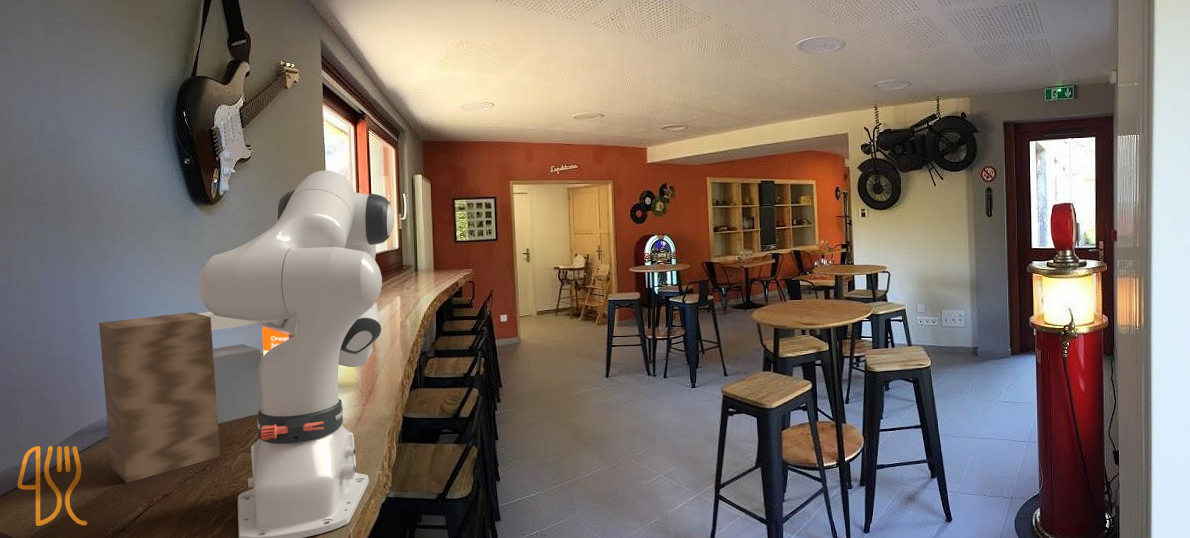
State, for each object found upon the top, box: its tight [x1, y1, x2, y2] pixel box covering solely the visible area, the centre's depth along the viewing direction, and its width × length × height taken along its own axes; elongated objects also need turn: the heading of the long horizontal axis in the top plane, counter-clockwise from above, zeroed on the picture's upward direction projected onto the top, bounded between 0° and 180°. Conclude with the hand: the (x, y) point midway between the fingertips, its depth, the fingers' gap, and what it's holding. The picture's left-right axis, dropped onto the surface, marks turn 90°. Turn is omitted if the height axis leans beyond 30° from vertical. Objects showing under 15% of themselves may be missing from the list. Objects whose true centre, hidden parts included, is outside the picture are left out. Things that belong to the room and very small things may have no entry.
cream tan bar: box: [197, 311, 267, 332], centre depth 134 cm, size 20×4×4 cm, turn 140°
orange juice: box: [261, 326, 289, 356], centre depth 166 cm, size 8×9×20 cm
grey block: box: [213, 343, 262, 425], centre depth 135 cm, size 10×10×14 cm
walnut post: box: [98, 312, 221, 484], centre depth 108 cm, size 14×10×26 cm
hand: (255, 312), depth 139 cm, fingers closed on cream tan bar, 4 cm apart
